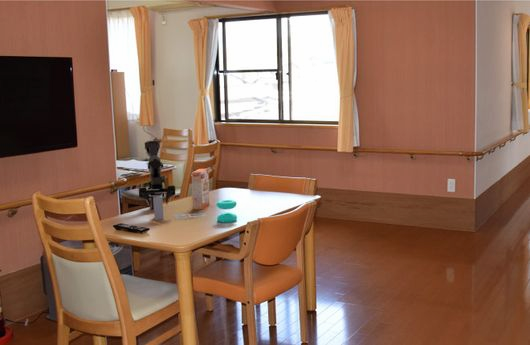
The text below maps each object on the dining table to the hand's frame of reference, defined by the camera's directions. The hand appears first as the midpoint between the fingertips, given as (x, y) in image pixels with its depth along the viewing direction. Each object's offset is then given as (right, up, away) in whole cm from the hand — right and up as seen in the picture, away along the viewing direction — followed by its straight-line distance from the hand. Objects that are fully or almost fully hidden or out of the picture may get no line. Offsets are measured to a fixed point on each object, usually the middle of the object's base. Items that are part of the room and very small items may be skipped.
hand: (158, 204), depth 328 cm
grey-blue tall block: (0, -8, +2) cm, 8 cm away
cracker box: (+19, -3, +29) cm, 35 cm away
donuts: (+36, -8, -6) cm, 37 cm away
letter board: (+15, -6, +7) cm, 18 cm away
